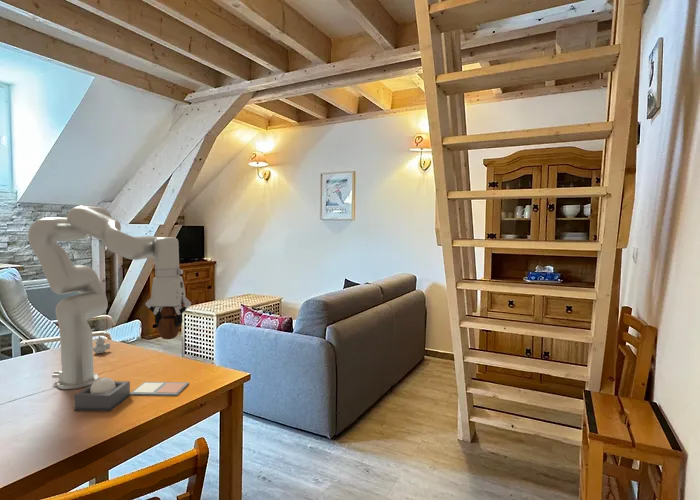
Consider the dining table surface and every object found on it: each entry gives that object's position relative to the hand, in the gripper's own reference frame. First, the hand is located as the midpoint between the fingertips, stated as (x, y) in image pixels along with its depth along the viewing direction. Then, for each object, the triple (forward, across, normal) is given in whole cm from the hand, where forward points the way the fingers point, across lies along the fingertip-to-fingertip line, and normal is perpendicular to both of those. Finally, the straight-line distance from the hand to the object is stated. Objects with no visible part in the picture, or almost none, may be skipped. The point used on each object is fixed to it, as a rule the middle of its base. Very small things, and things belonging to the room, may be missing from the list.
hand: (169, 325), depth 140 cm
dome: (+21, +17, +11) cm, 29 cm away
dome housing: (+23, +17, +11) cm, 30 cm away
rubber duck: (+23, +48, -38) cm, 65 cm away
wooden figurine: (+5, 0, 0) cm, 5 cm away
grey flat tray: (+23, +4, 0) cm, 23 cm away
